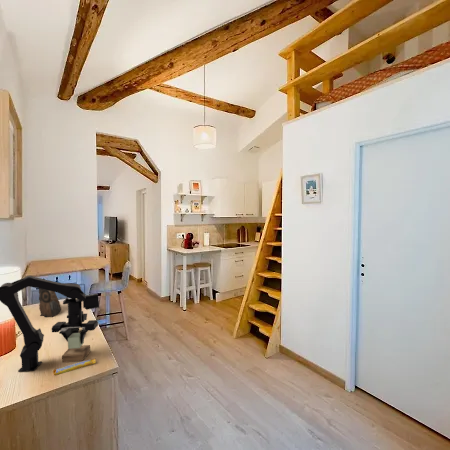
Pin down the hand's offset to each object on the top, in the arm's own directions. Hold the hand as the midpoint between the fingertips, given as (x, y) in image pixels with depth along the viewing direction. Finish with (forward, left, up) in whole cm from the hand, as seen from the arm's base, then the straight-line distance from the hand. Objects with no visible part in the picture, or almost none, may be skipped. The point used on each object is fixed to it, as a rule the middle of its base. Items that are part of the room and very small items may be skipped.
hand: (76, 343), depth 127 cm
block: (0, 0, -1) cm, 1 cm away
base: (0, 0, -6) cm, 6 cm away
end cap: (+23, +12, -7) cm, 27 cm away
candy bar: (-10, -3, -7) cm, 12 cm away
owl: (+58, +40, -6) cm, 71 cm away
